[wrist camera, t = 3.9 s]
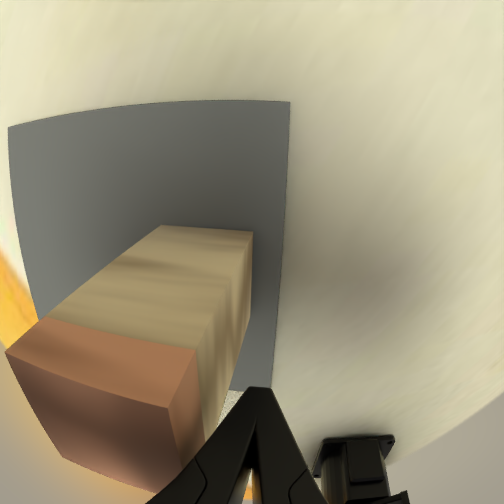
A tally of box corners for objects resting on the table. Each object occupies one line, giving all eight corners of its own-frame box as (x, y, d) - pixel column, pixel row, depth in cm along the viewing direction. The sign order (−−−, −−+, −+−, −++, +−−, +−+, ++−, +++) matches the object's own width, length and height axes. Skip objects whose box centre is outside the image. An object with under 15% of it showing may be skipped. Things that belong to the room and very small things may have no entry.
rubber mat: (270, 388, 21) (269, 393, 21) (53, 351, 23) (50, 354, 22) (290, 102, 15) (290, 102, 14) (12, 126, 16) (7, 127, 15)
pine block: (250, 316, 18) (192, 503, 8) (167, 305, 19) (62, 456, 8) (253, 231, 16) (167, 408, 6) (160, 224, 17) (4, 351, 6)
